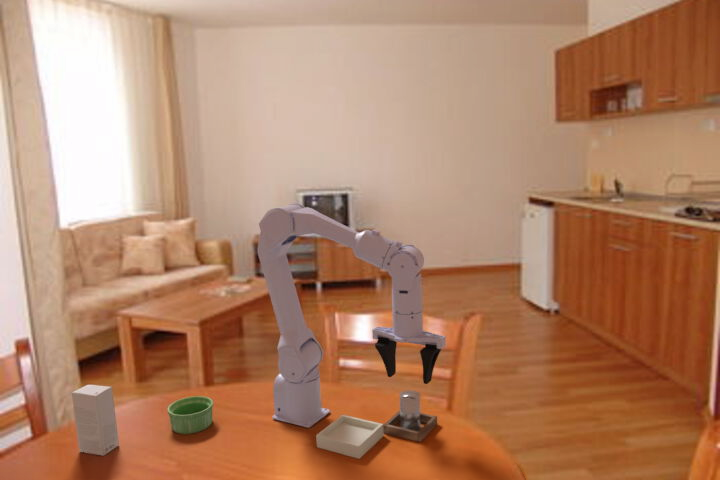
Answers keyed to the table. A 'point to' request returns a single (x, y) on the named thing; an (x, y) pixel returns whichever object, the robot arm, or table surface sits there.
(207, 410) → the ramekin
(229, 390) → the table surface
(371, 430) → the beige shallow square tray
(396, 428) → the walnut collar
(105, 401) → the skincare box
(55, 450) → the table surface
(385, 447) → the table surface
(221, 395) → the table surface
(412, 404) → the dowel pin
